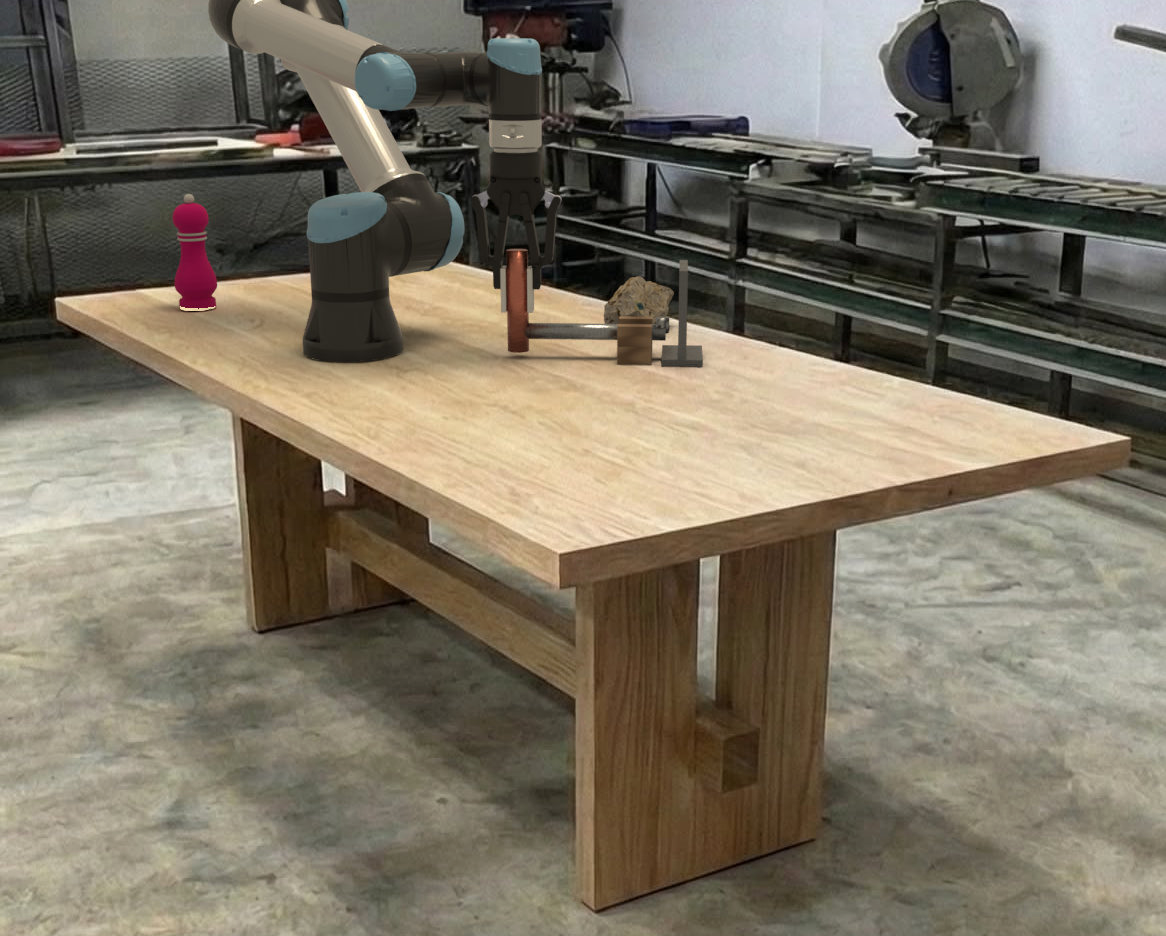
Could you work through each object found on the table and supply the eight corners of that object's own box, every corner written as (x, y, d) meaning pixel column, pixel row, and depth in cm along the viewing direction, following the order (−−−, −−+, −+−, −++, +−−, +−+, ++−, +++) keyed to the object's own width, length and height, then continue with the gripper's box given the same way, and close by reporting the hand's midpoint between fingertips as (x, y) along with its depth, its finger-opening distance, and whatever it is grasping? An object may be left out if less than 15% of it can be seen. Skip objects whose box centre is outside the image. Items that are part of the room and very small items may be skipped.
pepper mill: (168, 311, 251) (158, 195, 245) (191, 304, 257) (181, 190, 252) (205, 313, 249) (195, 196, 243) (226, 306, 255) (218, 192, 250)
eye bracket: (661, 366, 210) (662, 270, 206) (662, 351, 219) (663, 259, 215) (702, 366, 209) (704, 271, 205) (701, 352, 219) (703, 260, 215)
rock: (619, 332, 227) (631, 270, 227) (596, 331, 232) (607, 270, 232) (679, 348, 234) (690, 288, 233) (655, 346, 239) (666, 287, 239)
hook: (506, 352, 214) (504, 252, 210) (509, 348, 217) (507, 248, 213) (668, 354, 213) (670, 253, 208) (668, 350, 216) (670, 250, 211)
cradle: (617, 364, 211) (617, 326, 209) (619, 352, 219) (619, 316, 217) (651, 364, 211) (651, 327, 209) (652, 352, 218) (652, 316, 217)
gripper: (455, 151, 204) (459, 315, 211) (570, 152, 203) (570, 316, 210) (462, 147, 211) (466, 305, 218) (573, 148, 210) (574, 306, 217)
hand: (517, 310), depth 214 cm, fingers closed on hook, 3 cm apart
